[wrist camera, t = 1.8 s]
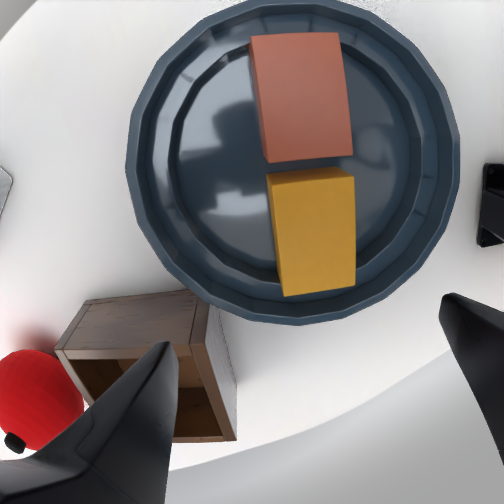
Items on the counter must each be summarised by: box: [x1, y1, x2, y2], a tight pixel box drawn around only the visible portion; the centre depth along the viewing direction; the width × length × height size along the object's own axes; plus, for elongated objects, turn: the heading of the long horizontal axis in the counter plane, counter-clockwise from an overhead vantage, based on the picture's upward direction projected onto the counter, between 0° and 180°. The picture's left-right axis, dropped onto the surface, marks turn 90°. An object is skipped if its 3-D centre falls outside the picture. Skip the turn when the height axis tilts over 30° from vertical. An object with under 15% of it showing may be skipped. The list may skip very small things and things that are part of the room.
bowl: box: [125, 0, 460, 326], centre depth 15 cm, size 17×17×4 cm
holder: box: [54, 289, 237, 443], centre depth 20 cm, size 10×10×6 cm
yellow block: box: [266, 166, 356, 297], centre depth 17 cm, size 4×6×3 cm, turn 8°
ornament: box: [0, 350, 84, 454], centre depth 19 cm, size 9×9×10 cm
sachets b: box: [249, 32, 353, 163], centre depth 14 cm, size 4×6×3 cm, turn 8°
